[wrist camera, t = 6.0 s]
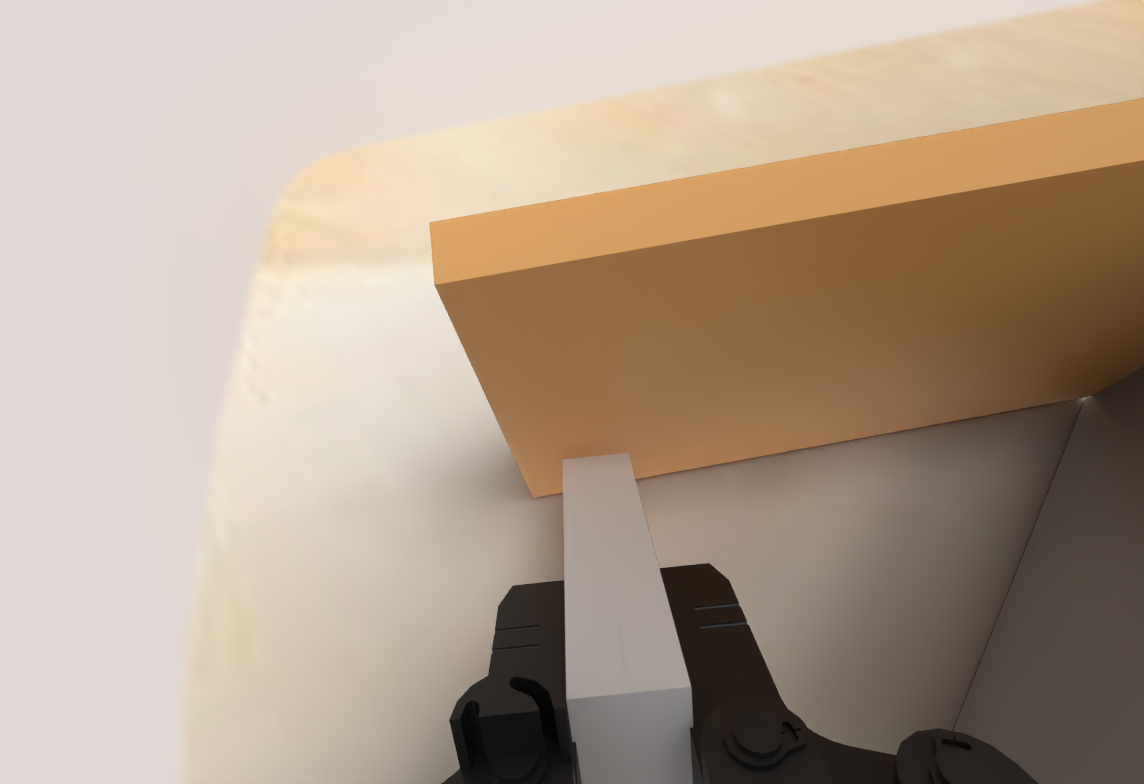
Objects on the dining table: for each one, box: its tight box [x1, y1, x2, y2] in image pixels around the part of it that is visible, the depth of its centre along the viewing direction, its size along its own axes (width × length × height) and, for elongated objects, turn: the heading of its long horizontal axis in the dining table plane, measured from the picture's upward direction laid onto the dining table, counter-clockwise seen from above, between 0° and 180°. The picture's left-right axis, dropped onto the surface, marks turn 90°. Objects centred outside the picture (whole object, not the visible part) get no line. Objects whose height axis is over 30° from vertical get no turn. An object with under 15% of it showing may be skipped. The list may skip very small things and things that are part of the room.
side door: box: [430, 98, 1144, 498], centre depth 12 cm, size 16×2×10 cm, turn 100°
